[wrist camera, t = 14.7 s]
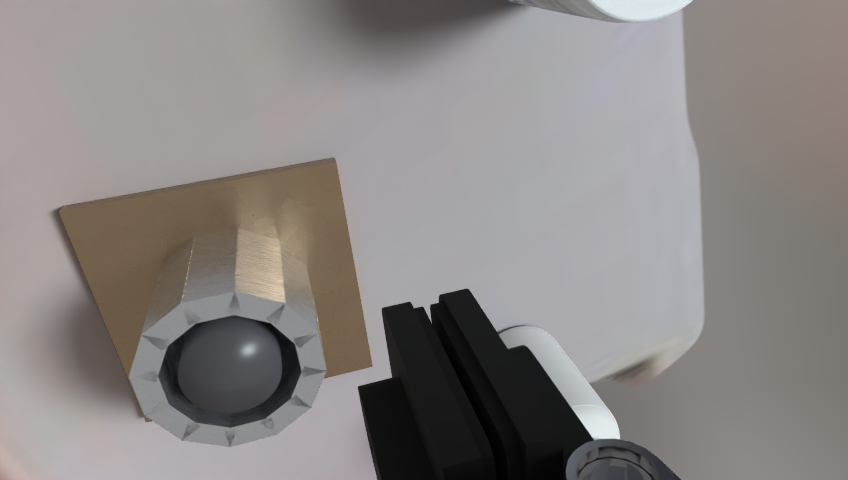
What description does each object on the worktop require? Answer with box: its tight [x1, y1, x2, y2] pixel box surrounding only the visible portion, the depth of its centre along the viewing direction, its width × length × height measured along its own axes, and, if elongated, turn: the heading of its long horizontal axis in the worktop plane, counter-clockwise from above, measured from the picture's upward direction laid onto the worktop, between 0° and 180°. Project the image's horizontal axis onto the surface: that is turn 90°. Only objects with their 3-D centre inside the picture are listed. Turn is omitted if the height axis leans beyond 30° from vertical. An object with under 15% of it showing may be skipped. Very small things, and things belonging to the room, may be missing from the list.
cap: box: [178, 315, 282, 413], centre depth 38 cm, size 6×6×5 cm
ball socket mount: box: [59, 158, 373, 447], centre depth 40 cm, size 18×18×10 cm
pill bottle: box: [499, 326, 620, 440], centre depth 48 cm, size 8×8×15 cm
